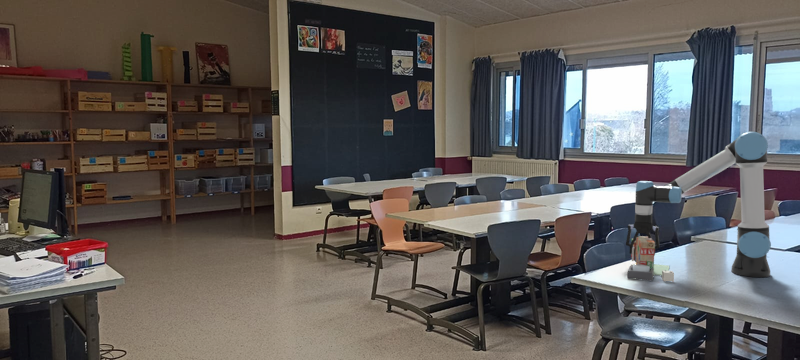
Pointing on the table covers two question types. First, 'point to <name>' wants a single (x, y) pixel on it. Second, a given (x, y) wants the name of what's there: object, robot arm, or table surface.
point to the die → (667, 275)
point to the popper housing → (641, 274)
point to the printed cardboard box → (644, 251)
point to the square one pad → (660, 269)
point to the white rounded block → (641, 268)
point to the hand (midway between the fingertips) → (641, 261)
